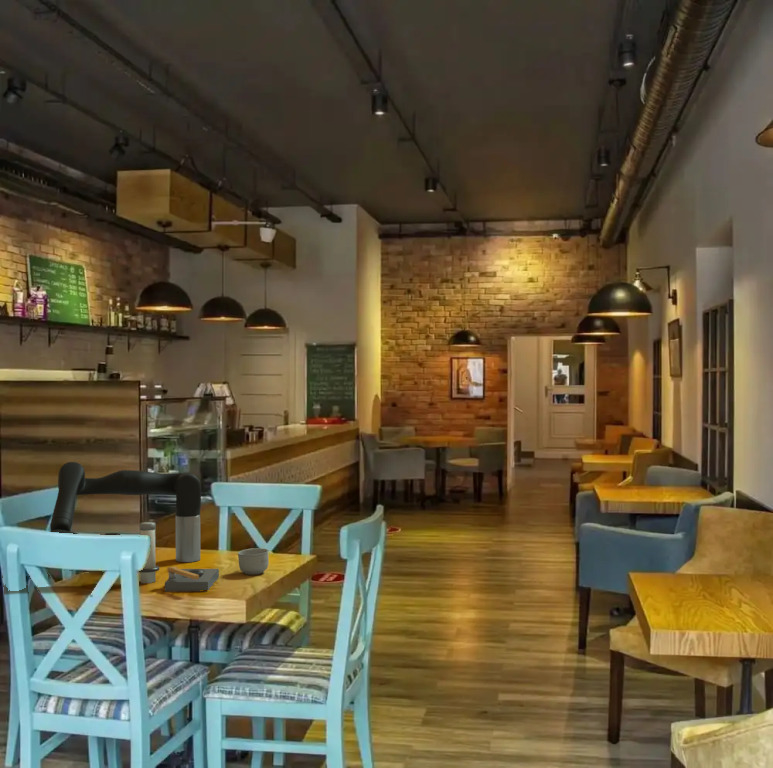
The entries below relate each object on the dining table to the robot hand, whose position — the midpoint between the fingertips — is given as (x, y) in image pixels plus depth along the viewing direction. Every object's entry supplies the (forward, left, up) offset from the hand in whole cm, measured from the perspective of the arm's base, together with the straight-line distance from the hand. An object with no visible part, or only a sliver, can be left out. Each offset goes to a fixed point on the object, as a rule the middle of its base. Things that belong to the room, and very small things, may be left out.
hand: (152, 543), depth 296 cm
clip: (+13, +13, -8) cm, 20 cm away
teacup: (-14, +32, -13) cm, 38 cm away
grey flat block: (+4, +14, -13) cm, 20 cm away
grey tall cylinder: (0, -2, -13) cm, 13 cm away
